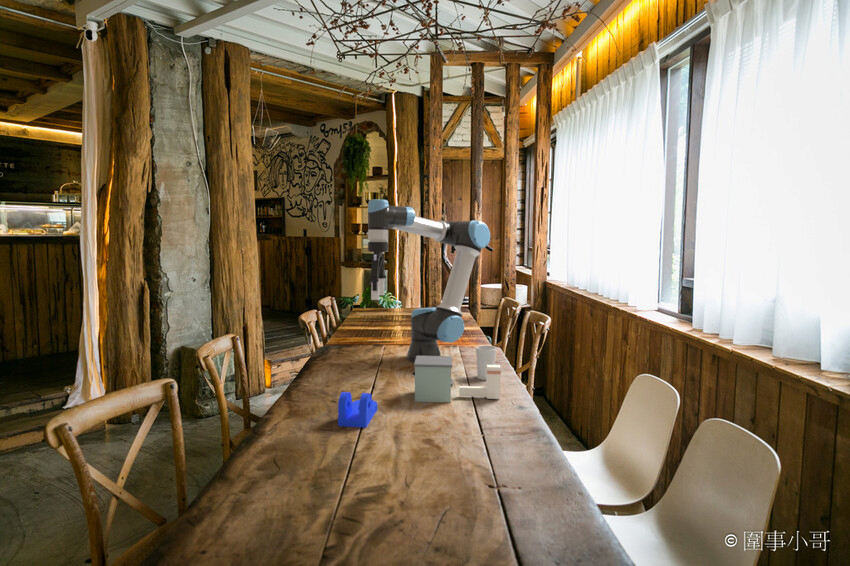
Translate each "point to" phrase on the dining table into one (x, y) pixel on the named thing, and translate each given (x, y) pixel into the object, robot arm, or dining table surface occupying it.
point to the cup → (484, 360)
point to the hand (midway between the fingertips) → (377, 297)
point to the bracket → (356, 410)
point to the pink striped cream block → (491, 385)
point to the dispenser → (433, 378)
